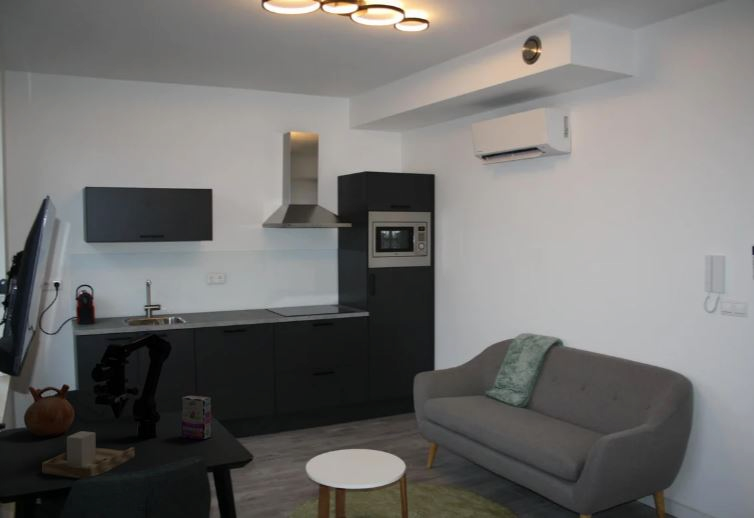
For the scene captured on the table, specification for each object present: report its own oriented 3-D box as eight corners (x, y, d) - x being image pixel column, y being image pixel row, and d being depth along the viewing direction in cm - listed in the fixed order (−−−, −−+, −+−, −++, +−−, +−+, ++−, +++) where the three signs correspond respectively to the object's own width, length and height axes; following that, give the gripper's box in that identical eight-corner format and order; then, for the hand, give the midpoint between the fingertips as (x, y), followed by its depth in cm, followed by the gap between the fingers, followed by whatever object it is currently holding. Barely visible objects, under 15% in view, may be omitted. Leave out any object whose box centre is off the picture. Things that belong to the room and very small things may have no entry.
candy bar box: (211, 437, 266) (211, 397, 265) (204, 440, 261) (204, 400, 261) (189, 434, 270) (189, 394, 270) (181, 437, 266) (181, 397, 265)
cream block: (81, 459, 233) (80, 431, 233) (95, 460, 232) (95, 432, 231) (67, 465, 226) (66, 437, 226) (81, 467, 225) (81, 438, 225)
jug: (22, 442, 257) (21, 392, 257) (26, 430, 274) (25, 382, 273) (73, 437, 265) (73, 388, 264) (74, 425, 281) (74, 378, 280)
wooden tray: (88, 451, 247) (88, 442, 247) (134, 456, 242) (134, 447, 242) (41, 473, 224) (41, 463, 224) (91, 479, 219) (91, 469, 219)
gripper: (114, 371, 261) (114, 410, 261) (82, 380, 242) (82, 422, 243) (139, 372, 258) (139, 412, 258) (108, 382, 240) (108, 425, 240)
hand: (117, 417), depth 250 cm, fingers closed
